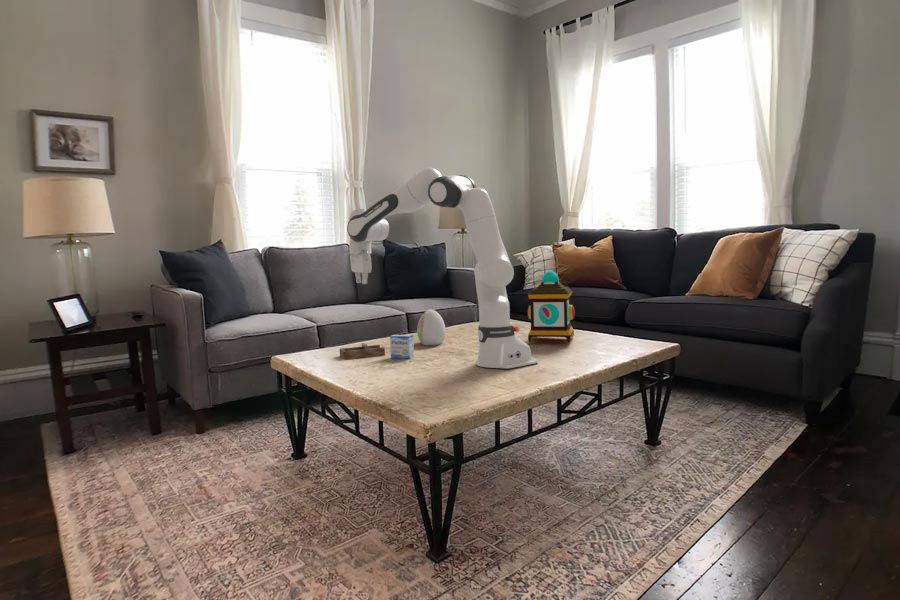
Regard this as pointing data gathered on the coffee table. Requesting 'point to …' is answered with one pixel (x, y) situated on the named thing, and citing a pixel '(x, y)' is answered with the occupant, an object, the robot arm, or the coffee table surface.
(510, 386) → the coffee table surface
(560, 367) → the coffee table surface
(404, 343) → the medicine box
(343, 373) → the coffee table surface
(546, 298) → the decorative lantern
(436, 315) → the decorative egg
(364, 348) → the pusher
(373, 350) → the wooden tray
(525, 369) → the coffee table surface
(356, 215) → the robot arm
